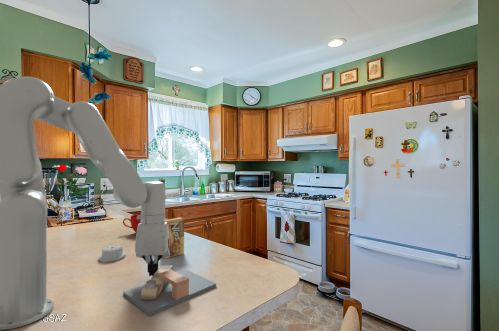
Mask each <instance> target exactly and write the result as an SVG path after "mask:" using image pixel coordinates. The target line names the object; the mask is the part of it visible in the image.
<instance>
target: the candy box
mask: <svg viewBox="0 0 499 331" xmlns="http://www.w3.org/2000/svg"><path fill="white" fill-rule="evenodd" d="M167 219H168V220H165V222H167V225H168V230H169V241H170V247H169V252H170V255H169V256H168V257H164V258H163V259H170V258H173V257H177V256H179V255H180V256H181V255H183V254H185V218H182V217H177V218H167Z"/></svg>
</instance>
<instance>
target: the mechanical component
mask: <svg viewBox="0 0 499 331" xmlns="http://www.w3.org/2000/svg"><path fill="white" fill-rule="evenodd" d="M126 253H127V252H126V251H124V250H123V246H122V245H110V246H105V247H104V248H102V250H101V254H100V255H98V261H99V262H101V263H102V262H104V263H109V262H116V261H120V260H123V259H124V258H126V256H127V254H126Z"/></svg>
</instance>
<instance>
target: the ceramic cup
mask: <svg viewBox="0 0 499 331" xmlns="http://www.w3.org/2000/svg"><path fill="white" fill-rule="evenodd" d="M140 214H141V213H136V214H132V215H130V218H129V217H126V218H124V219H123V221H122V224H123V226H125V227H126V228H129V229H132V230H133V232H135V234H136V233H137V228H138V224H139V223H141V222H140V220H137V216H139V215H140ZM127 220H128V221H129V222H130V225H128V224H126V222H125V221H127Z"/></svg>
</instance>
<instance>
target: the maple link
mask: <svg viewBox="0 0 499 331" xmlns="http://www.w3.org/2000/svg"><path fill="white" fill-rule="evenodd" d="M168 270H173V271H174V265H160V266H159V267H158V270H157V271H156V273H155V274H154V275H153V276H151V278H150V279H149V280H148V279H147V281H146V282H145V284H146V285H145V286H144V288H143V289H142V290H141V300H150V299H156V298H157V297H158V295H159V294H160V292H161V291H162V289H163V288H164V286H165V284H166V283H167V282H166V281H164V280H163V279H161V278H159V273H162V272H165V271H168Z"/></svg>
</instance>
